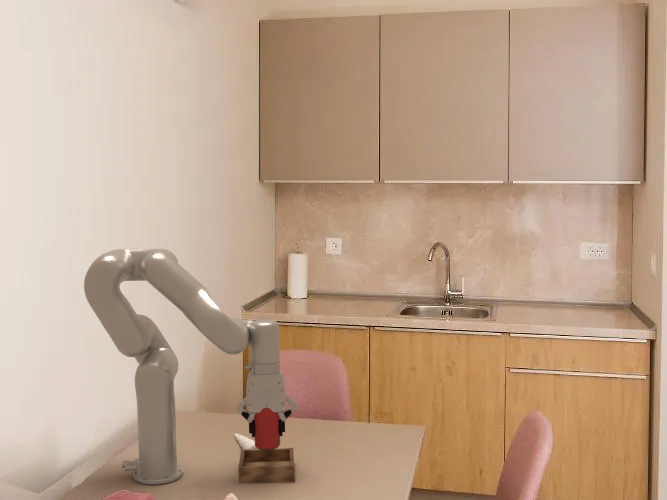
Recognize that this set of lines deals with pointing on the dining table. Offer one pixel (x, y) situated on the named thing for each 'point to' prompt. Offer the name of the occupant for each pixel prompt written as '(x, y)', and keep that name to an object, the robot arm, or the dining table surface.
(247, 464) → the crate
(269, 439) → the beer can
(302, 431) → the dining table surface
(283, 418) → the robot arm
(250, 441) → the unicorn horn
